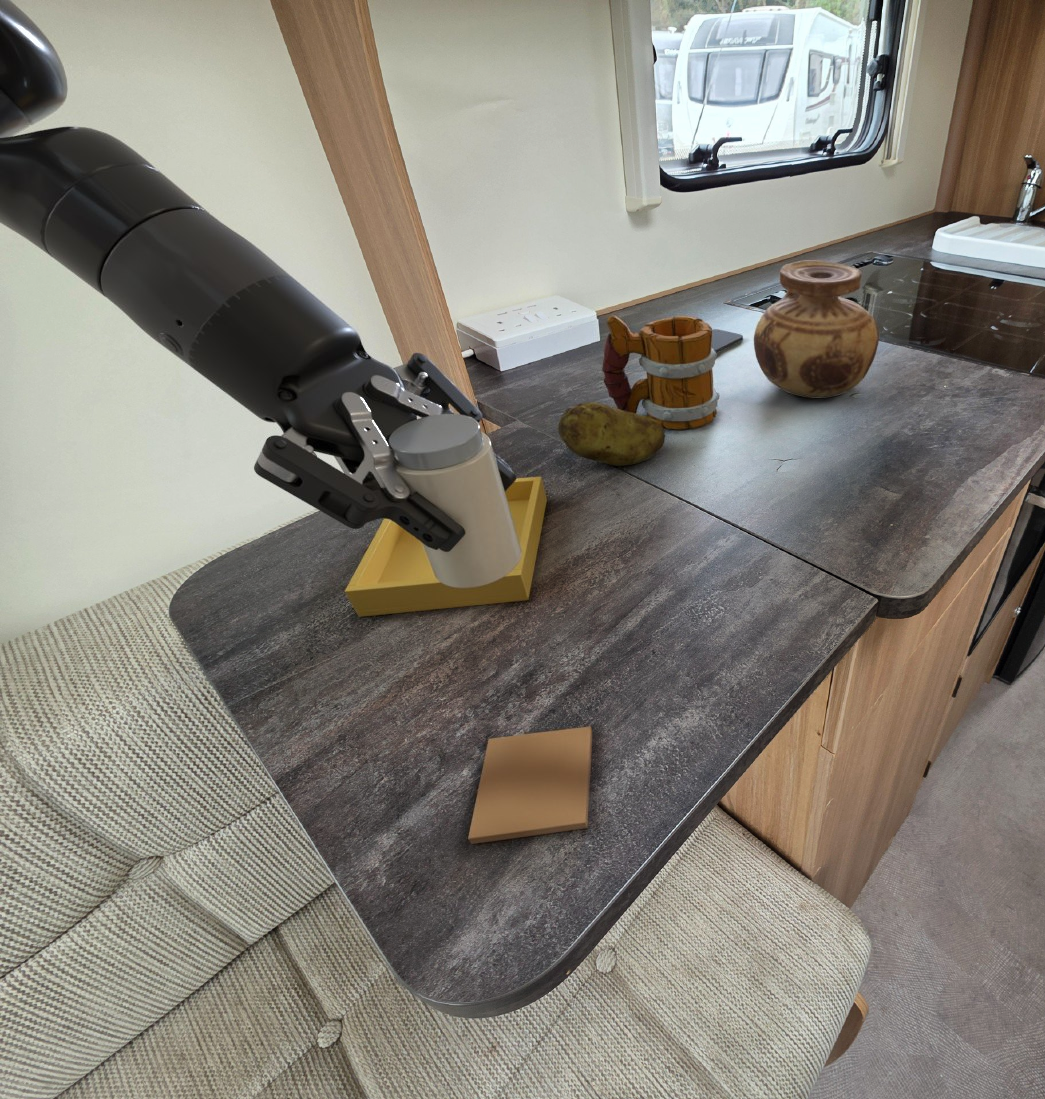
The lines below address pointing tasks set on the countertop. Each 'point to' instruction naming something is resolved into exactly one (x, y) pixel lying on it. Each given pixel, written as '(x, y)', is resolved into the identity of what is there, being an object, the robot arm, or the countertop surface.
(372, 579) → the tray
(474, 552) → the jar with grey lid
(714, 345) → the phone
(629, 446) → the potato
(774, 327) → the clay pot
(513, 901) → the countertop surface
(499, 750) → the trivet
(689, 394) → the mug
